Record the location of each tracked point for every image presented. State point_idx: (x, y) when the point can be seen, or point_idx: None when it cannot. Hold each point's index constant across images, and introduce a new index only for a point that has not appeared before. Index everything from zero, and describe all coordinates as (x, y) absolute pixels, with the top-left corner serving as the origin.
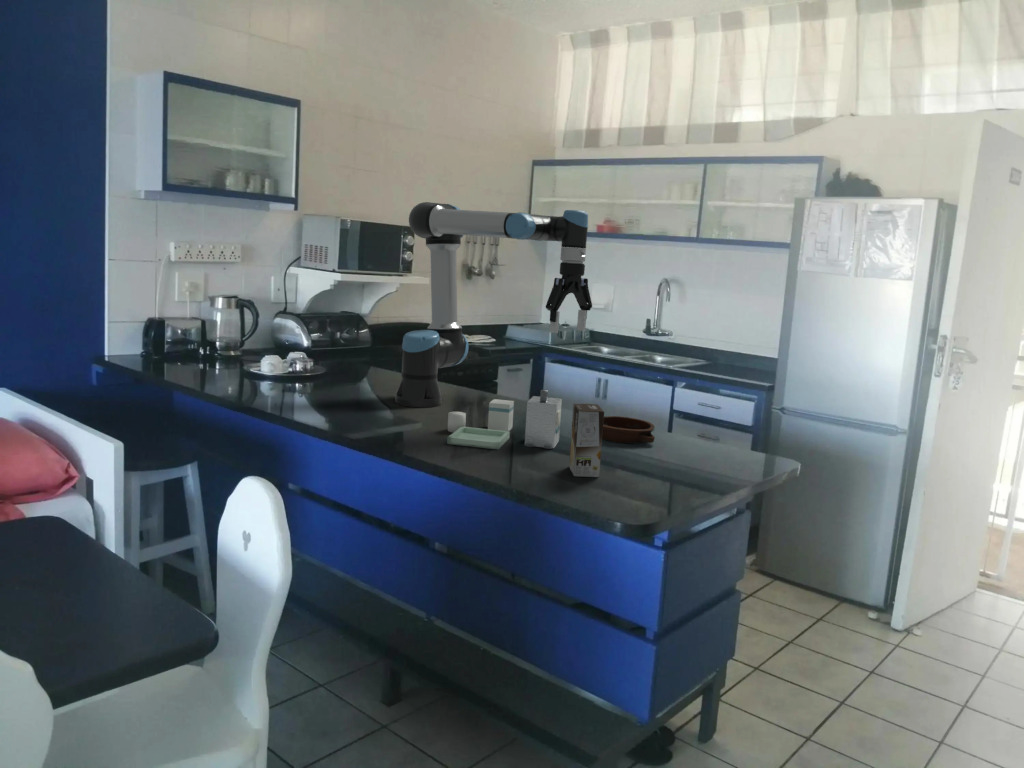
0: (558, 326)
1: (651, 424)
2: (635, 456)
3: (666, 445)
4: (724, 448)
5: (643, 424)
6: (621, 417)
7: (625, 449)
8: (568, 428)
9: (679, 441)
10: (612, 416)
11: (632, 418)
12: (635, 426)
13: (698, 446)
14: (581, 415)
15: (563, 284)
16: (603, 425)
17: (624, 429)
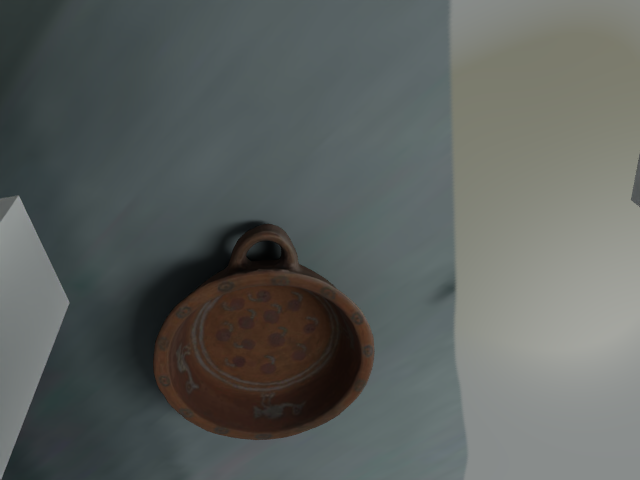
0: (43, 367)
1: (345, 403)
2: (147, 461)
3: None
4: (439, 470)
5: (354, 363)
6: (336, 305)
7: (173, 413)
8: (174, 155)
9: (400, 400)
10: (311, 287)
11: (358, 331)
12: (348, 331)
13: (398, 444)
14: None
15: None
16: (159, 378)
17: (197, 424)
